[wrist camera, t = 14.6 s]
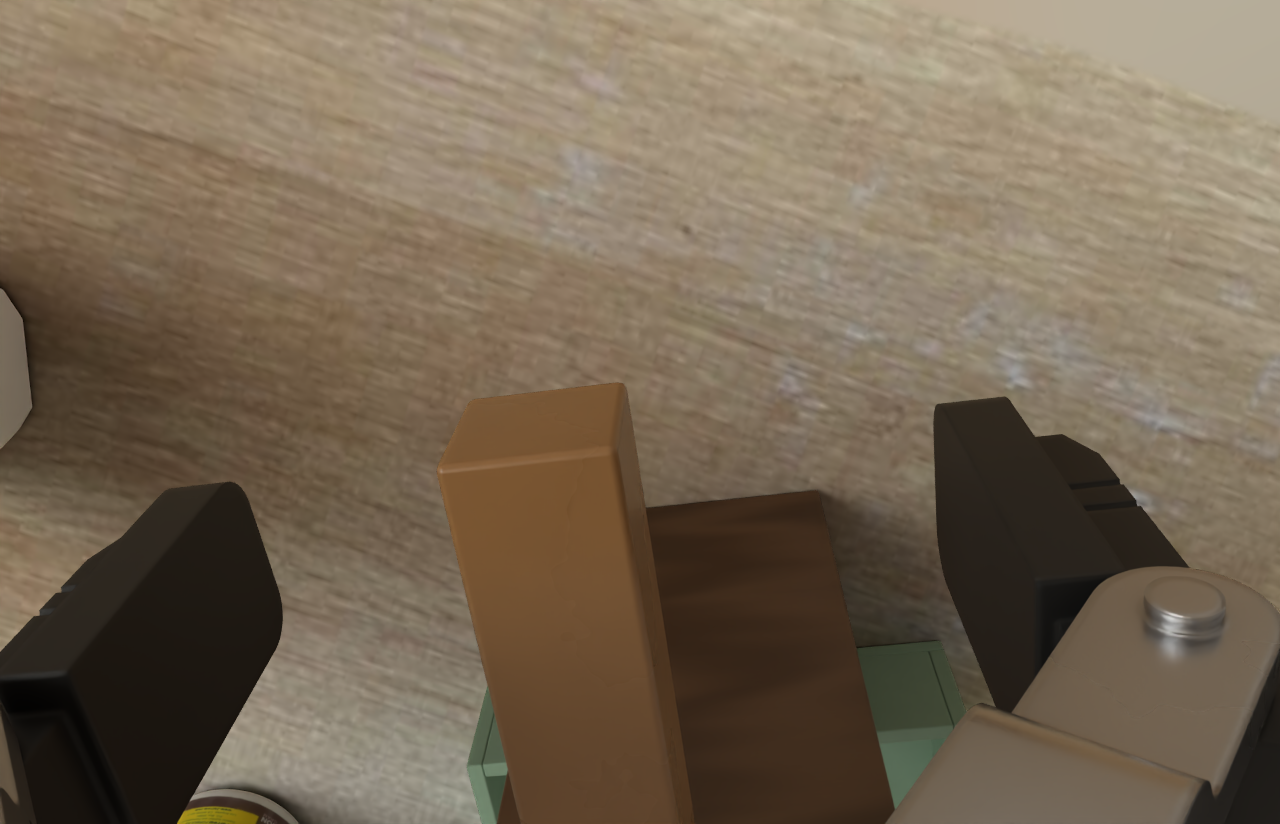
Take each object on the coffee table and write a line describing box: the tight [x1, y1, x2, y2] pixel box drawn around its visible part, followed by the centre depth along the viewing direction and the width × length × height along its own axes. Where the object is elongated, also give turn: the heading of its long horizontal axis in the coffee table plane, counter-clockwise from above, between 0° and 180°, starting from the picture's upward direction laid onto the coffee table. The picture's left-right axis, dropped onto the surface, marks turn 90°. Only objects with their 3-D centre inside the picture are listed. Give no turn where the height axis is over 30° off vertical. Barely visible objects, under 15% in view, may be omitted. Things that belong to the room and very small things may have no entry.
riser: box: [497, 490, 895, 824], centre depth 25 cm, size 8×4×18 cm, turn 98°
